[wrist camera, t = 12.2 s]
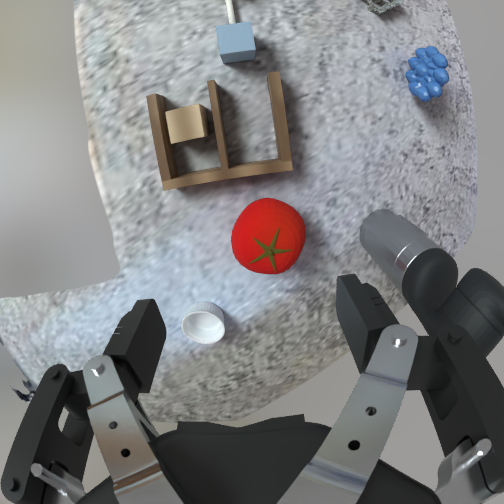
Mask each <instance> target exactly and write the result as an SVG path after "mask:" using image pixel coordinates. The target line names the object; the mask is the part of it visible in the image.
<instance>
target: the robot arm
mask: <svg viewBox="0 0 504 504" xmlns="http://www.w3.org/2000/svg"><path fill="white" fill-rule="evenodd" d="M360 241H361V244H362V246H363V247H364V248H365V250H366V251H367V252H368V253H369V254H370V256H371V257H372V258H373V259H374V260H375V262H376V263H377V264H378V265H379V266H380V268H381V269H382V270H383V271H384V273H385V274H386V275H387V276H388V277H389V279H390V280H391V281H392V282H393V284H394V285H395V286H396V288H397V289H398V290H399V291H400V293H401V294H402V295H403V296H404V298H405V299H406V300H407V302H408V304H409V305H410V307H411V308H412V310H413V311H414V313H415V314H416V315H417V317H418V318H419V320H420V322H421V323H422V325H423V326H424V328H425V330H426V332H427V333H428V335H429V336H418V335H417V334H416V332H415V331H414V330H413V329H411V328H410V327H408V326H405V325H400V324H399V322H398V321H397V319H396V317H395V316H394V314H393V313H392V311H391V310H390V308H389V307H388V305H387V304H386V303H385V301H384V299H383V298H382V297H381V295H380V293H379V292H378V290H377V289H376V288H375V287H373V286H371V285H370V284H368V283H364V284H361V282H360V280H359V279H358V277H357V276H356V274H348V275H342V276H338V277H337V290H336V312H337V317H338V320H339V322H340V325H341V327H342V330H343V332H344V335H345V337H346V340H347V342H348V345H349V347H350V350H351V352H352V354H353V357H354V360H355V362H356V365H357V368H358V370H359V373H360V374H361V375H360V377H359V379H358V381H357V384H356V385H355V388H354V389H353V391H352V393H351V395H350V397H349V399H348V401H347V403H346V404H345V406H344V408H343V410H342V412H341V414H340V415H339V417H338V419H337V421H336V422H335V424H334V426H333V428H331V427H328V426H326V425H322V424H318V423H312V422H305V420H304V414H300V415H293V416H286V417H278V418H271V419H268V420H264V421H261V422H258V423H254V424H251V425H248V426H244V427H238V428H237V427H230V426H225V425H220V424H215V423H210V422H183V421H178V426H177V430H173V431H170V432H167V433H164V434H162V435H159V434H158V432H157V431H156V429H155V428H154V426H153V424H152V422H151V421H150V419H149V417H148V415H147V413H146V412H145V410H144V408H143V406H142V404H141V402H140V401H139V399H138V395H139V393H149V392H150V389H151V385H152V382H153V378H154V375H155V372H156V368H157V365H158V362H159V359H160V355H161V352H162V349H163V346H164V343H165V340H166V327H165V324H164V321H163V319H162V316H161V314H160V311H159V309H158V306H157V304H156V302H155V300H154V299H144V300H137V301H136V303H135V305H134V307H133V309H132V310H131V311H129V312H128V313H127V314H126V315H125V316H124V317H122V318H121V320H120V322H119V324H118V326H117V328H116V329H115V331H114V334H113V335H112V337H111V339H110V341H109V343H108V345H107V347H106V349H105V351H104V353H103V355H98V356H95V357H93V358H91V359H90V360H89V361H88V362H87V363H86V364H85V366H84V368H83V370H80V371H75V372H70V371H69V370H68V368H67V367H66V366H65V365H63V364H56V365H54V366H52V367H50V368H49V369H48V370H47V371H46V372H45V374H44V376H43V378H42V380H41V382H40V384H39V386H38V388H37V390H36V392H35V394H34V396H33V398H32V400H31V402H30V404H29V406H28V409H27V411H26V413H25V416H24V418H23V420H22V422H21V425H20V427H19V430H18V432H17V435H16V437H15V440H14V442H13V445H12V448H11V451H10V453H9V456H8V459H7V462H6V465H5V468H4V472H3V475H2V478H1V490H2V493H3V494H4V496H5V497H6V498H7V499H8V500H9V501H11V502H13V503H14V504H482V503H484V502H486V501H488V500H490V499H492V498H494V497H496V496H497V495H499V494H501V493H503V492H504V388H503V386H502V384H501V382H500V381H499V379H498V377H497V375H496V374H495V372H494V370H493V369H492V367H491V366H490V364H489V362H488V361H487V359H486V357H487V356H488V355H489V353H490V352H491V351H492V350H493V349H494V348H495V346H496V345H497V344H498V343H499V341H500V340H501V339H502V338H503V336H504V287H503V286H502V285H501V284H500V283H499V282H498V281H497V280H496V279H495V278H494V277H493V276H491V275H490V274H488V273H487V272H485V271H483V270H481V269H479V268H473V269H471V270H469V271H468V272H467V273H466V274H465V276H464V277H463V278H462V279H461V281H460V282H459V283H458V285H457V287H456V284H457V279H458V268H457V264H456V262H455V260H454V259H453V258H452V257H451V256H450V255H449V254H448V253H447V252H445V251H444V250H443V249H442V248H440V247H439V246H438V245H437V244H435V243H434V242H433V241H431V240H430V239H429V238H427V237H426V233H425V232H424V231H422V230H421V229H420V228H418V227H417V226H415V225H414V224H413V223H411V222H410V221H408V220H407V219H406V218H404V217H403V216H401V215H396V214H395V213H393V212H392V211H389V210H385V209H383V210H377V211H375V212H373V213H371V214H370V215H369V216H368V217H367V218H366V219H365V220H364V222H363V224H362V226H361V229H360ZM502 335H503V336H502ZM406 390H420V391H421V393H422V396H423V398H424V401H425V403H426V405H427V408H428V411H429V413H430V416H431V418H432V421H433V424H434V426H435V429H436V432H437V435H438V438H439V440H440V443H441V447H442V450H443V452H444V455H445V458H444V459H443V461H442V462H441V464H440V466H439V468H438V485H437V488H436V490H435V492H434V491H433V490H432V489H430V488H428V487H427V486H425V485H423V484H421V483H419V482H418V481H416V480H414V479H412V478H411V477H409V476H407V475H405V474H404V473H402V472H400V471H399V470H397V469H395V468H394V467H392V466H390V465H389V464H387V463H385V462H384V461H382V460H381V459H379V457H380V455H381V453H382V451H383V449H384V446H385V444H386V442H387V440H388V437H389V435H390V432H391V430H392V427H393V425H394V422H395V420H396V417H397V414H398V412H399V409H400V406H401V403H402V400H403V398H404V394H405V391H406ZM63 407H65V409H67V411H68V412H69V414H68V417H67V419H66V422H65V425H64V428H63V431H62V432H61V431H60V429H59V427H58V421H59V418H60V415H61V413H62V410H63ZM94 434H95V437H96V440H97V443H98V446H99V448H100V451H101V454H102V456H103V459H104V461H105V463H106V466H107V468H108V471H109V473H110V476H109V477H108V478H106V479H105V480H104V481H103V482H101V483H100V484H99V485H98V486H96V487H95V488H94V489H92V490H91V491H90V492H88V493H85V492H84V487H83V485H82V479H83V475H84V471H85V466H86V462H87V458H88V454H89V450H90V446H91V443H92V439H93V435H94Z"/></svg>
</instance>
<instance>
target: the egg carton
mask: <svg viewBox="0 0 504 504" xmlns="http://www.w3.org/2000/svg"><path fill="white" fill-rule="evenodd" d="M365 1H366V2H367V4H368V7H367V9H368V10H369V11H370V12H375V13H377V14H378V15H379V14H381V13H382V12H385V11H386V10H387V9H388V10H390V9H392V8H394V7H395V6H398V5H400V4H401V3H403V1H402V0H390V1H391V3H385V4H384V5H383V6H382V7H380V8H374V7H373V6H372V2H373V3H378V2H380V1H381V0H365Z"/></svg>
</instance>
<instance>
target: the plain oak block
mask: <svg viewBox="0 0 504 504" xmlns="http://www.w3.org/2000/svg"><path fill="white" fill-rule="evenodd" d="M165 113H166V119H167V125H168V130H169V136H170V141H171V144H173V143H177V142H181V141H186V140H190V139H195V138H200V137H205V136H210V134H209V128H208V122H207V116H206V110H205V107H204V106H202V105H200V104H196V105H191V106H187V107H182V108H178V109H174V110H170V111H166V112H165Z"/></svg>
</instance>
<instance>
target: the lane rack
mask: <svg viewBox="0 0 504 504" xmlns="http://www.w3.org/2000/svg"><path fill="white" fill-rule="evenodd" d="M267 81H268V87H269V94H270V101H271V107H272V114H273V121H274V128H275V136H276V143H277V151H278V159H271V160H263V161H255V162H248V163H241V164H235V165H230V161H229V155H228V149H227V143H226V137H225V130H224V124H223V118H222V111H221V105H220V99H219V92H218V86H217V83H216V82H215V80H210V81H207V83H208V89H209V96H210V102H211V108H212V114H213V121H214V127H215V133H216V139H217V145H218V151H219V157H220V163H221V167H216V168H210V169H205V170H199V171H194V172H189V173H184V174H179V175H178V173H177V168H176V163H175V158H174V153H173V147H172V144H171V141H170V136H169V130H168V125H167V119H166V113H165V112H166V107H165V100H164V96H161V95H158V94H152V95H149V96H146V97H147V104H148V110H149V116H150V122H151V128H152V134H153V139H154V145H155V150H156V155H157V160H158V165H159V170H160V175H161V179H162V184H163V188H164V191H165V190H170V189H175V188H180V187H185V186H190V185H196V184H201V183H207V182H213V181H219V180H225V179H231V178H238V177H245V176H252V175H259V174H267V173H275V172H283V171H292V170H293V168H292V159H291V150H290V142H289V134H288V126H287V119H286V112H285V105H284V98H283V91H282V85H281V78H280V72H279V71H277V72H269V74H268V76H267Z"/></svg>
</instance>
